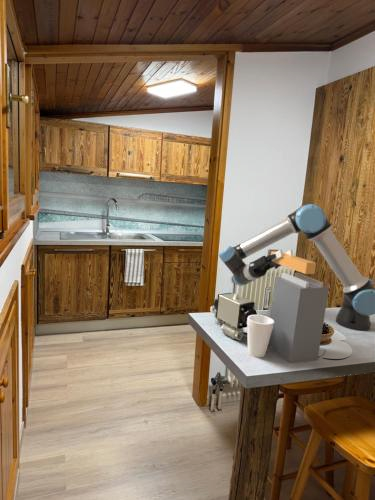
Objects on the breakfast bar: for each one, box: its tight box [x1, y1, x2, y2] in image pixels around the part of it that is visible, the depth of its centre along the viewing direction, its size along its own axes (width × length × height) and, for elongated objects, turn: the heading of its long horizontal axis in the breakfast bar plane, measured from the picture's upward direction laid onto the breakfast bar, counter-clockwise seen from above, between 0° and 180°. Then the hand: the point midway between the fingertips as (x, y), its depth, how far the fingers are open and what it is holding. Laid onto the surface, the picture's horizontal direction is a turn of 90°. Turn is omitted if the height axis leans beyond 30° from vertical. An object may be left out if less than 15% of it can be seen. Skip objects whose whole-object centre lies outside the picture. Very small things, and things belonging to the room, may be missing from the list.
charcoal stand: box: [268, 272, 330, 364], centre depth 128 cm, size 12×15×29 cm
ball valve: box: [213, 292, 258, 341], centre depth 139 cm, size 18×8×18 cm, turn 36°
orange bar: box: [266, 248, 317, 275], centre depth 132 cm, size 5×23×5 cm, turn 20°
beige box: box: [209, 304, 223, 324], centre depth 154 cm, size 9×7×10 cm
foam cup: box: [246, 314, 274, 358], centre depth 126 cm, size 10×9×13 cm
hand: (286, 253), depth 134 cm, fingers closed on orange bar, 4 cm apart
